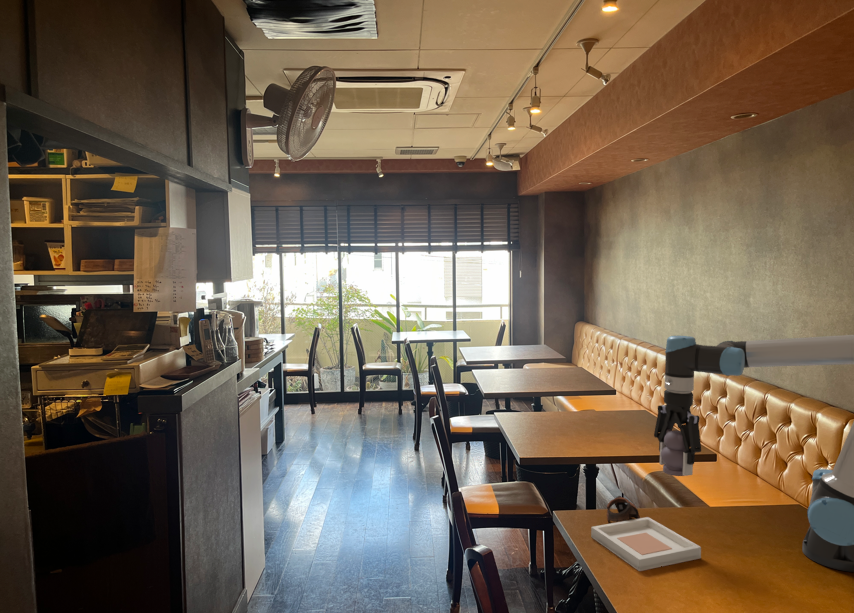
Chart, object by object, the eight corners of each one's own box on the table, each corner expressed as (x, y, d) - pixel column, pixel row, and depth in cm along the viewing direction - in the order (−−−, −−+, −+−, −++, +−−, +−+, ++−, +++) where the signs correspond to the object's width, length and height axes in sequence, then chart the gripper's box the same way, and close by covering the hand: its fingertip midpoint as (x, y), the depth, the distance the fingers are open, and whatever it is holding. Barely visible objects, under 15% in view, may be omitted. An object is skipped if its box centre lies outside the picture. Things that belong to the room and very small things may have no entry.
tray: (700, 558, 150) (701, 547, 150) (639, 571, 144) (639, 559, 143) (647, 526, 169) (648, 517, 169) (591, 537, 162) (591, 526, 162)
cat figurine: (697, 476, 158) (699, 434, 157) (672, 478, 156) (674, 435, 155) (678, 466, 166) (680, 426, 165) (654, 467, 165) (655, 427, 164)
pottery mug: (647, 530, 168) (637, 509, 166) (617, 541, 170) (607, 521, 168) (634, 504, 179) (625, 484, 177) (606, 515, 181) (596, 495, 179)
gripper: (642, 384, 169) (639, 458, 170) (696, 399, 148) (692, 484, 150) (663, 382, 171) (660, 456, 172) (719, 398, 151) (715, 481, 152)
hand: (675, 469), depth 161 cm, fingers closed on cat figurine, 8 cm apart
